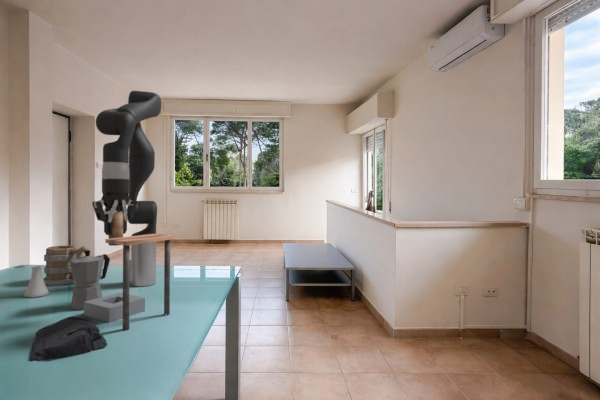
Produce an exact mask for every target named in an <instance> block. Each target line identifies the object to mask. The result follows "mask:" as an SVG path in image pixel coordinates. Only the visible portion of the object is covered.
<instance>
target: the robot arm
mask: <svg viewBox="0 0 600 400" xmlns="http://www.w3.org/2000/svg"><path fill="white" fill-rule="evenodd" d="M161 110H162V100H161V97H160V95H159V94H158V93H155V92H151V91H143V90H141V91H140V90H131V91H130V92H129V94H128V101H127V103H125V104H123V105H120V106H119V107H118V108H112V109H111V108H110V109H105V110H102V111H101V112H99V113H98V115H97V116H96V119H95V126H96V128H97V130H98V132H99V133H101V134H103V135H105V136H106V135H107V136H118V139H117V140H115V141H112V142H107V143H105V144H103V147H102V167H101V193H102V196H101V199H99V200H96V201H95V200H94V201H92V202H91V204H92V207H93V210H94V213H95V216H96V219H97V220H98V221H101V222H103V232H104V234H105V236H109V235H112V223H111V222H112V218H113V215H114V214H115V212H123V235H124V234H126V233H127V231H128V223H129V224H131V225H145V224H146V225H147V226H146V227H145V228H143V229H142V230H139V231H137V232H134V233H132V234H131V236H138V235H147V234H157V220H158V219H157V217H158V205H157V203H156V202H155V201H154V200H137V199H138V196H139V193H140V191H141V189H142V188H143V186H144V185H145V183H146V182H147V180H149V178H150V176H151V175H152V174H153V172H154V170H155V163H156V162H155V161H156V160H155V157H156V155H155V154H156V153H155V149H154V147H153V145H152V143H151V142H150V140H149V139H148V137H147V135H146V134H145V132H144V129H143V128H142V123H141V122H143V121H145V120H148V119H151V118H156V117H158V116H159V115H160V113H161ZM156 281H157V241H156V242H149V243H141V244H134V245H130V273H129V285H130V286H133V287H148V286H152V285H155V284H156Z"/></svg>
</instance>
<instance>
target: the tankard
mask: <svg viewBox="0 0 600 400" xmlns="http://www.w3.org/2000/svg"><path fill="white" fill-rule="evenodd" d="M86 250H89V249H88V248H87V247H86V246H81V247H79V248H78V246H77V245H71V244H69V245H67V244H66V245H54V246H49V247H47V248H46V249H45V254H44V255H43V261H44V262H45V266H44V267H43V273H44V274H45V277H43V280H44V283H45V285H46V286H64V285H69V284H70V285H71V284H75V281H74V280H73V274H72V268H71V267H70V266H69V265H68V264H69V263H70V261H71V260H74V259H77V258H80V257H83V254H85V251H86Z"/></svg>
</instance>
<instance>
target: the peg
mask: <svg viewBox="0 0 600 400" xmlns="http://www.w3.org/2000/svg"><path fill="white" fill-rule="evenodd" d="M111 223H112V235H108V239H111V238H120V237H124V234H123V212H117V211H115V214H114V215H113V218H112V222H111ZM108 246H115V247H116V246H120V245H119V244H111V243H108Z"/></svg>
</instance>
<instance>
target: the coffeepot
mask: <svg viewBox="0 0 600 400" xmlns="http://www.w3.org/2000/svg"><path fill="white" fill-rule="evenodd" d="M84 255H85V256H82V257H80V258H77V259H74V260H71V261H70V263H69V264H68V265H69V266H70V267H71V268H72V274H73V280H74V281H75V283H74V284H75V285H74V287H73V290H72V291H73V292H72V297H71V302H70V308H71V309H72V310H76V311H84V302H85V301H89V300H93V299H97V298H101V297H103V293H102V288H101V287H102V286H101V284H100V280H103V279H106V276H107V272H108V269H109V266H110V261H111V258H110V256H108V255H107V254H105V253H104V254H100V255H99V254H98V255H96V256H94V255H91V250H89V249H88V250H86V251H85V253H84Z"/></svg>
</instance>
